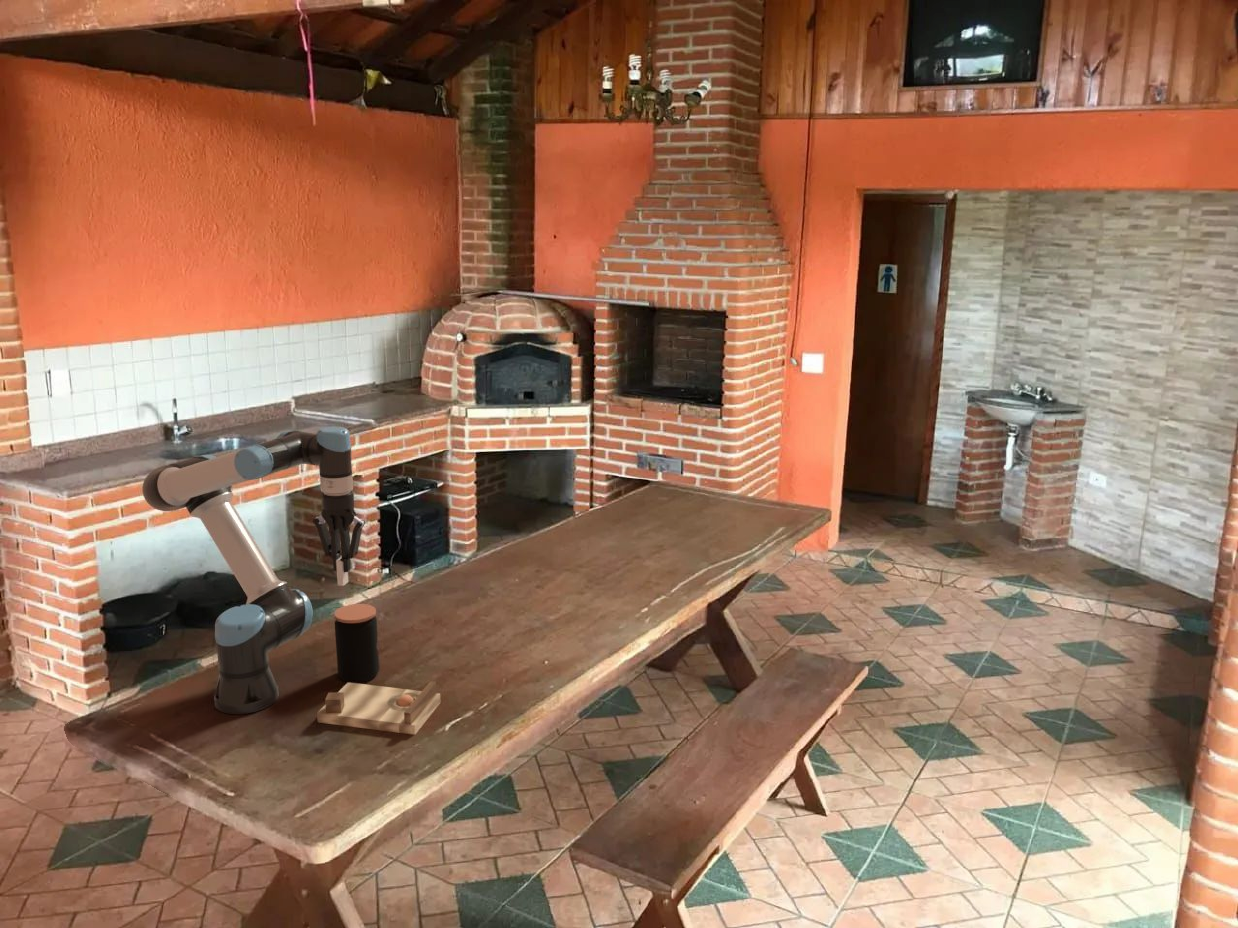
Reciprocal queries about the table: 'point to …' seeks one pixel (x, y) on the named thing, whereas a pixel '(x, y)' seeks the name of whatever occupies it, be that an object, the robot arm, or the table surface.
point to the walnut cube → (334, 702)
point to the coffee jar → (356, 643)
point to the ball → (405, 701)
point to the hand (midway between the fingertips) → (343, 583)
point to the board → (383, 708)
